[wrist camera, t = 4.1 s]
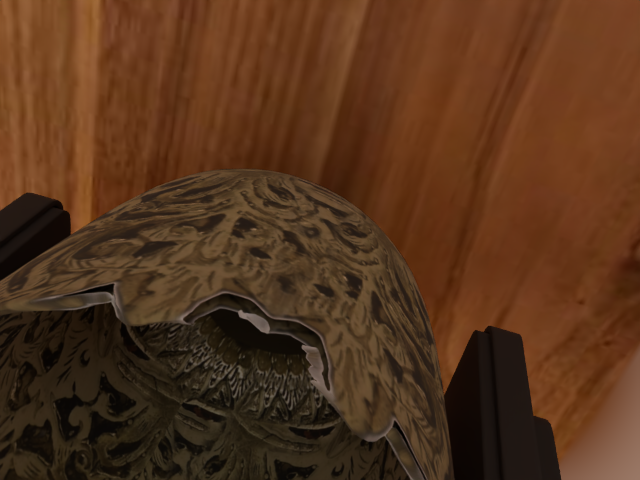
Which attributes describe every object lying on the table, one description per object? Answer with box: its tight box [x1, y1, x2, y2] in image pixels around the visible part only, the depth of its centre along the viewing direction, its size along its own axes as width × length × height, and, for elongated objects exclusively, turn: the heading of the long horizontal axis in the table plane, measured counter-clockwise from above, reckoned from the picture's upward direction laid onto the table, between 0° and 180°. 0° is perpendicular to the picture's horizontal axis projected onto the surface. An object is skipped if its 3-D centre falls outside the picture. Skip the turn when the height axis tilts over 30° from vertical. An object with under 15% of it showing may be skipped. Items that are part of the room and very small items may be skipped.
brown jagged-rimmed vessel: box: [0, 169, 455, 480], centre depth 11 cm, size 8×7×8 cm
